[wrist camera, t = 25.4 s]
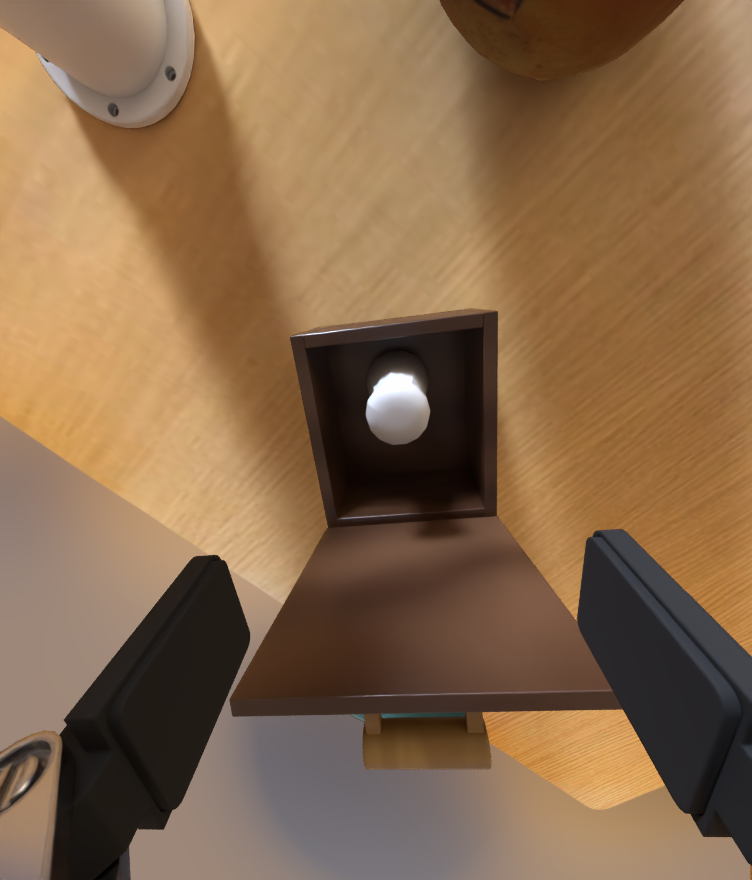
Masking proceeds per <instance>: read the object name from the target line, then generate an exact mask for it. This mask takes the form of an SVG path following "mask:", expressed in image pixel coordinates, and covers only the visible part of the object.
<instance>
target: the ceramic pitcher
mask: <svg viewBox="0 0 752 880" xmlns="http://www.w3.org/2000/svg"><path fill="white" fill-rule="evenodd" d="M683 1H684V0H440V2H441V5H442V6H443V8H444V10H445V12H446V13H447V15H448V17H449V18H450V20H451V22H452V23H453V25H454V26H455V27H456V29H457V30H458V31H459V32H460V33H461V34H462V36H463V37H464V38H465V39H466V41H467V42H468V43H469V44H470V45H471V46H472V47H473V48H474V49H475V50H476V51H477V52H478V53H479V54H480V55H482V56H484V57H485V58H487V59H489V60H490V61H492V62H493V63H495V64H496V65H498V66H500V67H502V68H504V69H506V70H508V71H510V72H512V73H516V74H520V75H525V76H528V77H530V78H533V79H536V80H540V81H546V80H551V79H556V78H563V77H570V76H575V75H578V74H581V73H584V72H586V71H589V70H593V69H596V68H598V67H600V66H602V65H604V64H606V63H608V62H610V61H612V60H614V59H616V58H618V57H619V56H621V55H622V54H624V53H625V52H626V51H628V50H629V49H630V48H632V47H633V46H634V45H635V44H637V43H638V42H639V41H640V40H641V39H643V38H644V37H645V36H646V35H647V34H649V33H650V32H651V31H652V30H653V29H655V28H656V27H657V26H658V25H659V24H661V23H662V22H663V21H664V20H665V19H666V18H667V17H668V16H669V15H670V14H671V13H672V12H673V11H674V10H675V9H676V8H677V7H678V6H679V5H680V4H681V3H682V2H683Z"/></svg>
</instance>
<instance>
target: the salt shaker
mask: <svg viewBox="0 0 752 880" xmlns="http://www.w3.org/2000/svg"><path fill="white" fill-rule="evenodd" d="M429 383H430V379H429V375H428V372H427V368H426V366H425V365H424V364H423V363H422V362H421V360H420V359H419V358H418V357H417V356H415V355H413V354H410V353H408V352H405V351H391V352H387V353H386V354H384V355H382V356H381V357H379V358H377V359H376V360H375V361H374V363H373V364H372V366H371V367H370V369H369V370H368V375H367V382H366V386H367V389H368V392H369V396H370V398H369V399H368V401H367V409H366V418H367V421H368V424H369V427H370V430H371V431H372V432H373V433H374V434H375V435H376V436H377V437H378V438H379V439H380V440H382V441H384V442H387V443H389V444H392V445H397V444H407V443H409V442H411V441H413V440H415V439H417V438H419V436H420V435H421V434H422V433H423V431H424V430H425V429H426V427H427V424H428V419H429V415H430V408H429V404H428V401H427V397H426V395H427V392H428V388H429Z"/></svg>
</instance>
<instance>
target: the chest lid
mask: <svg viewBox="0 0 752 880" xmlns="http://www.w3.org/2000/svg"><path fill="white" fill-rule="evenodd" d="M230 705H231V711H232V716H233V717H234V716H235V717H236V716H290V715H344V714H345V715H346V714H364V720H365V722H364V728H363V762H364V767H365V769H367V770H397V769H398V770H408V769H409V770H410V769H411V770H412V769H415V770H416V769H490V768H491V753H490V746H489V740H488V734H487V729H486V725H485V721H484V719H483V715H482V712H508V711H562V710H616V709H623V708H622V706H621V705H620V703H619V701H618V699H617V697H616V696H615V694H614V692H613V690H612V688H611V687H610V685H609V683H608V681H607V679H606V678H605V676H604V674H603V672H602V670H601V669H600V667H599V665H598V663H597V662H596V660H595V658H594V656H593V654H592V653H591V651H590V649H589V647H588V645H587V644H586V642H585V640H584V638H583V636H582V634H581V632H580V630H579V626H578V622H577V621H576V620H575V618H574V617H573V616H572V614H571V613H570V612H569V610H568V609H567V608H566V606H565V605H564V604H563V602H562V601H561V600H560V598H559V597H558V596H557V594H556V593H555V592H554V590H553V589H552V588H551V586H550V585H549V584H548V582H547V581H546V580H545V578H544V577H543V576H542V574H541V573H540V572H539V570H538V569H537V568H536V566H535V565H534V564H533V562H532V561H531V560H530V558H529V557H528V556H527V554H526V553H525V552H524V550H523V549H522V548H521V546H520V545H519V544H518V542H517V541H516V540H515V538H514V537H513V536H512V534H511V533H510V532H509V530H508V529H507V528H506V526H505V525H504V524H503V522H502V521H501V520H500V518H499V517H498V516H494V517H480V518H465V519H451V520H436V521H422V522H408V523H393V524H379V525H364V526H350V527H335V528H327V529H326V531H325V533H324V534H323V536H322V538H321V540H320V541H319V543H318V545H317V547H316V548H315V550H314V552H313V554H312V555H311V557H310V559H309V561H308V562H307V564H306V566H305V568H304V569H303V571H302V573H301V575H300V577H299V578H298V580H297V582H296V584H295V585H294V587H293V589H292V591H291V592H290V594H289V596H288V598H287V599H286V601H285V603H284V605H283V606H282V608H281V610H280V612H279V613H278V615H277V617H276V619H275V620H274V622H273V624H272V626H271V627H270V629H269V631H268V633H267V634H266V636H265V638H264V640H263V642H262V643H261V645H260V647H259V649H258V650H257V652H256V654H255V656H254V657H253V659H252V661H251V663H250V664H249V666H248V668H247V670H246V671H245V673H244V675H243V677H242V678H241V680H240V682H239V684H238V685H237V687H236V689H235V691H234V693H233V694H232V696H231V698H230ZM454 712H465V716H459V717H402V718H382V716H381V714H400V713H454Z"/></svg>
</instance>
